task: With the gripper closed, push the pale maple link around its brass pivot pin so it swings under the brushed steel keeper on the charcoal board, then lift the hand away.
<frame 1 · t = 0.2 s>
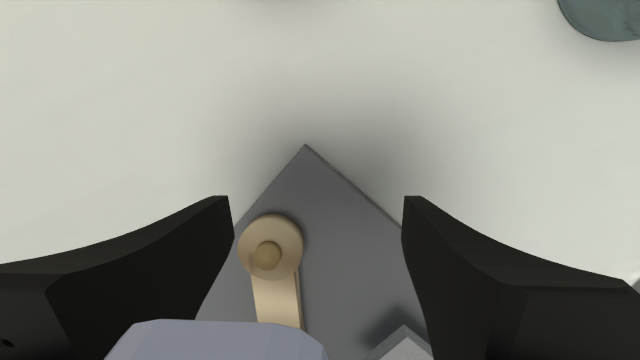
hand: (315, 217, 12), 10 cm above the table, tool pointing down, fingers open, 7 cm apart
keeper: (431, 356, 26), resting on board
link: (279, 318, 23), point 3 cm above the table, hinge at -45.0°
board: (337, 321, 26), on the table
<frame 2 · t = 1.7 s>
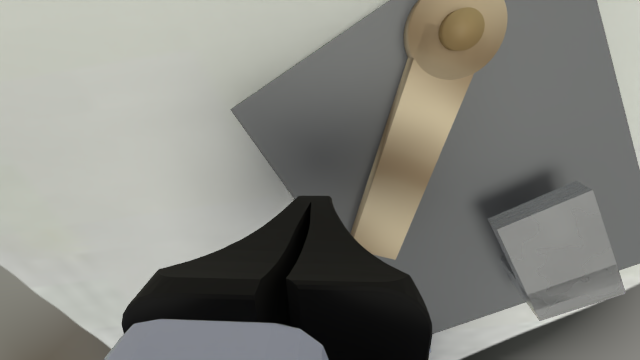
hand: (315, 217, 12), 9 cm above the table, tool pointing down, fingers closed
keeper: (531, 247, 23), resting on board
link: (413, 140, 17), point 3 cm above the table, hinge at -45.0°
board: (450, 179, 21), on the table
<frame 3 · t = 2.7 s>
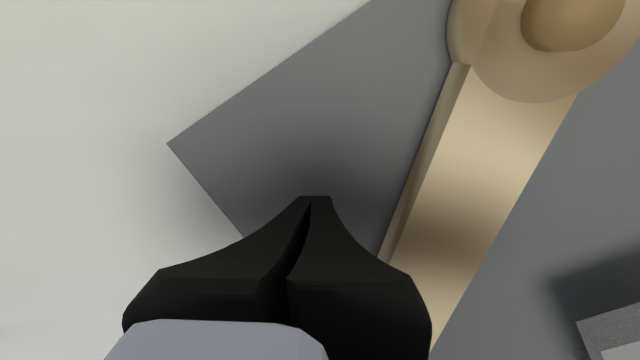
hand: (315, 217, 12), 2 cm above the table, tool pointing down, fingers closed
keeper: (611, 332, 16), resting on board
link: (459, 200, 10), point 3 cm above the table, hinge at -45.0°
board: (501, 241, 14), on the table
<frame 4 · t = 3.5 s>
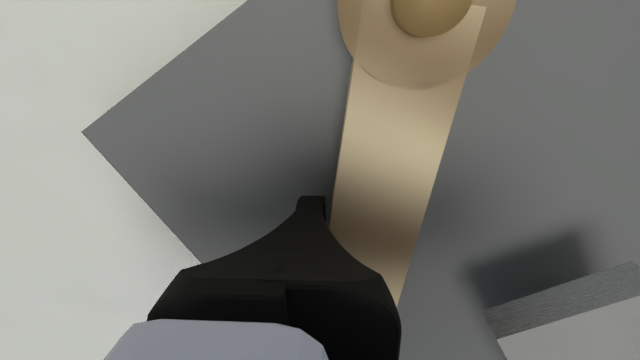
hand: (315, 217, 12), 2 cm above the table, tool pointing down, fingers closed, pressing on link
keeper: (544, 324, 16), resting on board
link: (380, 192, 11), point 3 cm above the table, hinge at -38.2°, touching gripper
board: (428, 233, 14), on the table
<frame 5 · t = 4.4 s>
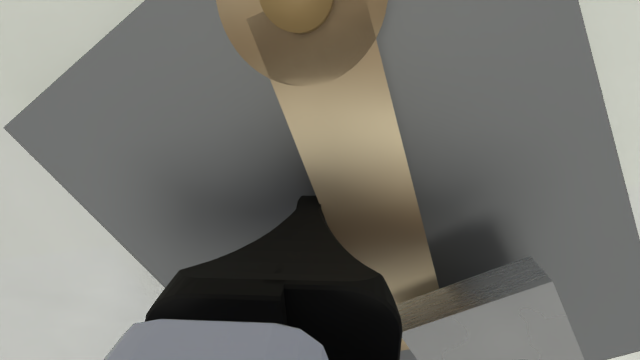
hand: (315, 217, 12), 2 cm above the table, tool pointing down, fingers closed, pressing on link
keeper: (481, 319, 16), resting on board
link: (361, 182, 10), point 3 cm above the table, hinge at -12.1°, touching gripper
board: (358, 229, 14), on the table
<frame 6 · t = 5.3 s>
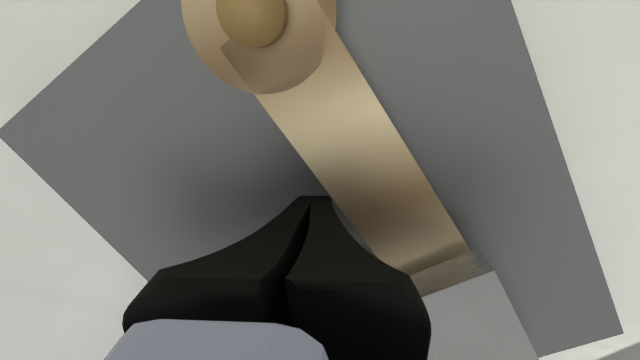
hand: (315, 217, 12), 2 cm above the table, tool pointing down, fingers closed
keeper: (452, 312, 17), resting on board
link: (363, 164, 11), point 3 cm above the table, hinge at 3.3°, touching gripper
board: (332, 226, 15), on the table
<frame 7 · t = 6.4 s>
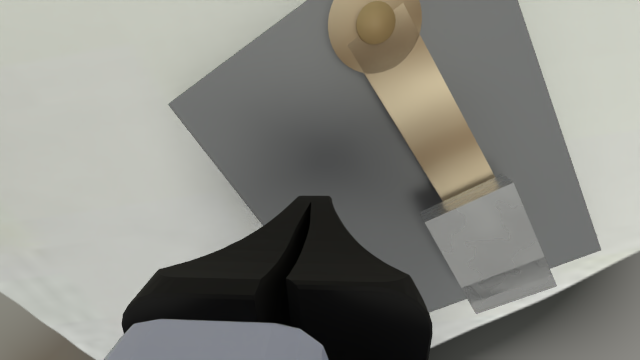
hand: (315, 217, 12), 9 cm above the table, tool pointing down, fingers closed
keeper: (476, 241, 23), resting on board
link: (427, 120, 17), point 3 cm above the table, hinge at 3.3°
board: (392, 173, 21), on the table
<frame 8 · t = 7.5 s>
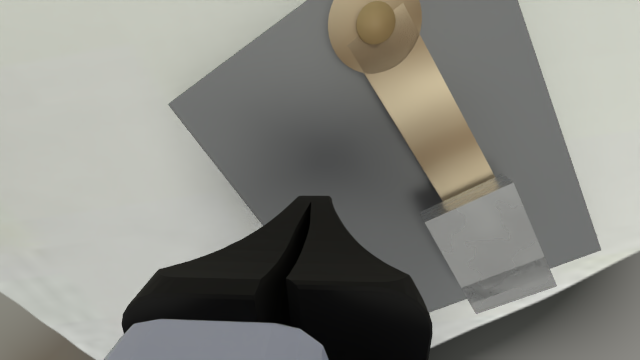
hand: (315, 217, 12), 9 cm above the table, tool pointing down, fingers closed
keeper: (476, 241, 23), resting on board
link: (427, 120, 17), point 3 cm above the table, hinge at 3.3°
board: (392, 173, 21), on the table
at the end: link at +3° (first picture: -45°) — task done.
